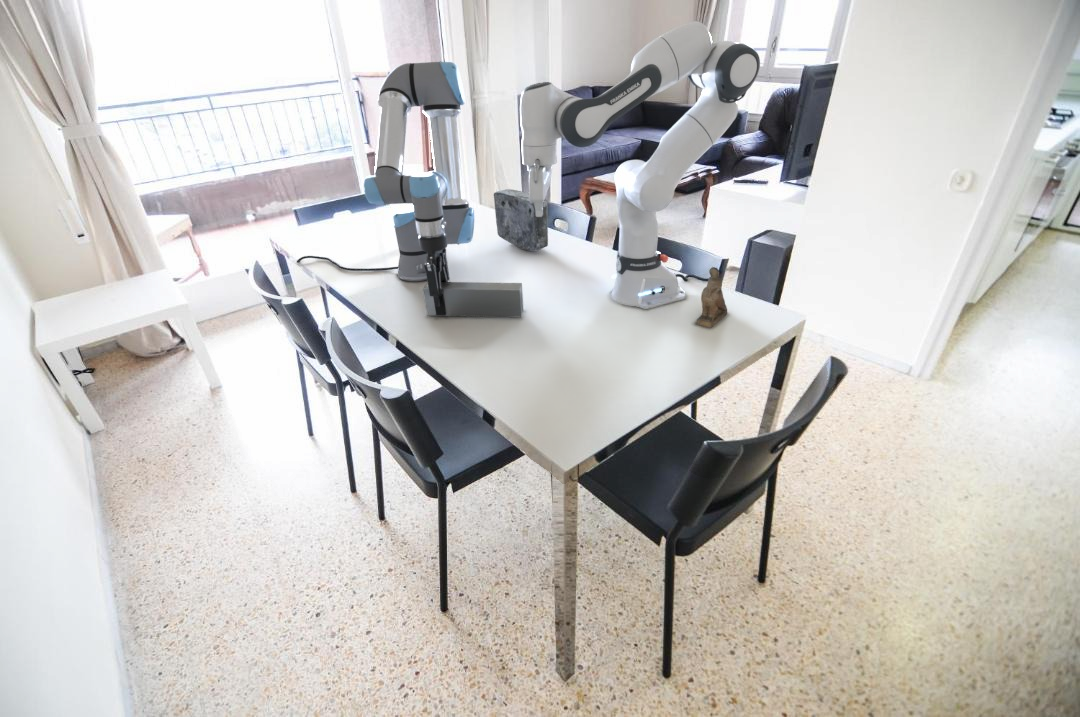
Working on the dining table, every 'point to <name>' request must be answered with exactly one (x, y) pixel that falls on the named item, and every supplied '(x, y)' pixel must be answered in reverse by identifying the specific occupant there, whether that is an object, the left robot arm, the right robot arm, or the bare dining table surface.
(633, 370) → the dining table surface
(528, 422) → the dining table surface
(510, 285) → the bar
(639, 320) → the dining table surface
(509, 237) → the concrete block
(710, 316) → the brown carved statuette
